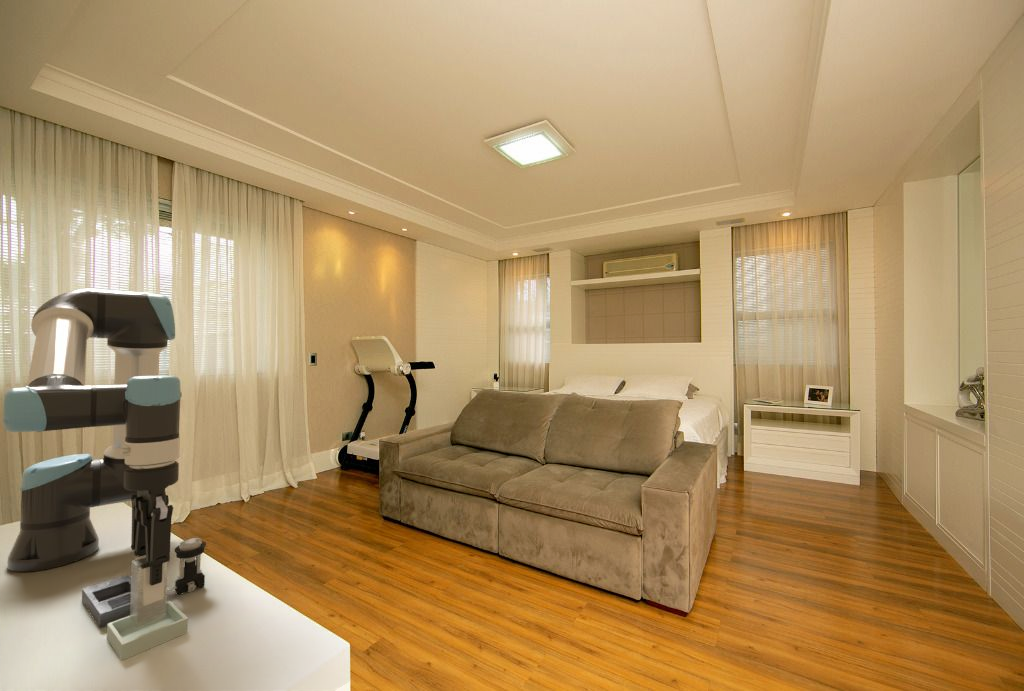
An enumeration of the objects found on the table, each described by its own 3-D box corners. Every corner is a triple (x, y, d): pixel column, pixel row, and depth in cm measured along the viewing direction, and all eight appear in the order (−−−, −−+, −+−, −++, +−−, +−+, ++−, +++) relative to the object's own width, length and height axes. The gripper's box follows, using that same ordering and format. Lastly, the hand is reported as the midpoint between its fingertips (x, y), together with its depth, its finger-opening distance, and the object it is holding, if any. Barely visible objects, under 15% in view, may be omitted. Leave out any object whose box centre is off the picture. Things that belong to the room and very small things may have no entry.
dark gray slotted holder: (81, 601, 88) (82, 588, 88) (127, 586, 93) (127, 574, 93) (100, 628, 79) (100, 613, 79) (148, 610, 85) (149, 596, 85)
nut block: (130, 618, 77) (131, 561, 77) (158, 608, 80) (159, 552, 81) (137, 627, 75) (138, 567, 75) (165, 616, 78) (167, 559, 78)
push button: (169, 602, 88) (170, 551, 88) (162, 592, 91) (163, 544, 91) (208, 588, 93) (209, 541, 93) (200, 580, 96) (201, 534, 96)
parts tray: (106, 638, 77) (107, 623, 77) (169, 613, 84) (170, 600, 84) (121, 660, 71) (122, 644, 71) (187, 632, 79) (187, 618, 79)
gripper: (111, 459, 80) (107, 589, 80) (140, 476, 70) (136, 625, 70) (161, 452, 86) (158, 573, 86) (195, 466, 76) (192, 603, 76)
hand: (148, 596), depth 78 cm, fingers closed on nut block, 4 cm apart
